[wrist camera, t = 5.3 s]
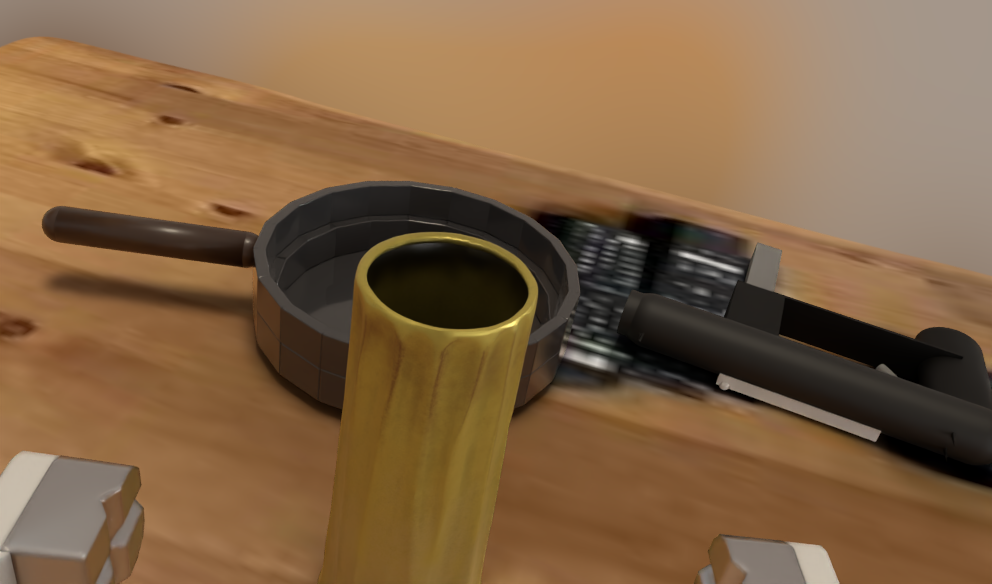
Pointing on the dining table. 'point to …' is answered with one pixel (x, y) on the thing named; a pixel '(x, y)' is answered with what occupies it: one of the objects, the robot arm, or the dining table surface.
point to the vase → (426, 409)
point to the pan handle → (149, 236)
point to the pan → (350, 235)
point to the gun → (828, 364)
